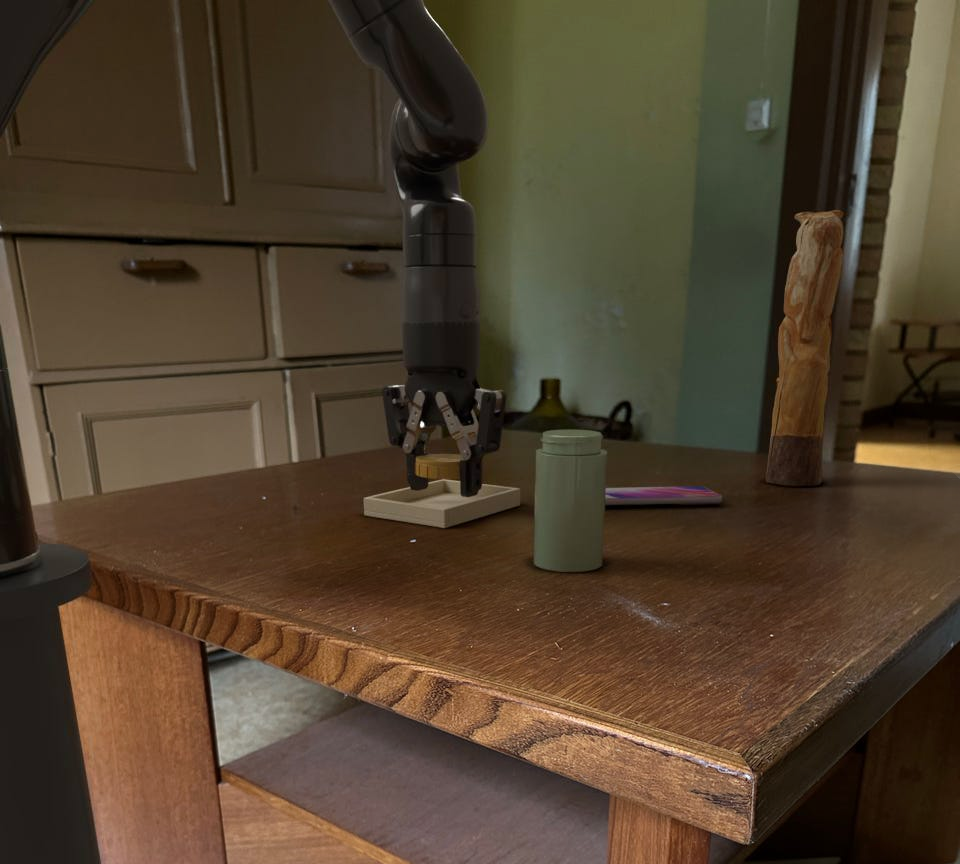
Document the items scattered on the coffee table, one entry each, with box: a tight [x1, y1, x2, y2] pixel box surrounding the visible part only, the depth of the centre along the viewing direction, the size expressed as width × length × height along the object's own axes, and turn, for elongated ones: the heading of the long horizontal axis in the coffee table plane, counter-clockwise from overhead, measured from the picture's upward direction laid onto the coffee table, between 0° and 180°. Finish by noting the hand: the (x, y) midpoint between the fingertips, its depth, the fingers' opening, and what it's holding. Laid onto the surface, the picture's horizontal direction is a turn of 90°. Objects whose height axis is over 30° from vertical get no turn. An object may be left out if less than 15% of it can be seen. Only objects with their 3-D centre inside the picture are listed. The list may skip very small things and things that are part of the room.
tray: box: [363, 479, 521, 529], centre depth 94 cm, size 13×10×2 cm
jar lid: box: [415, 453, 463, 480], centre depth 92 cm, size 6×6×2 cm
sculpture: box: [765, 209, 844, 488], centre depth 105 cm, size 7×9×30 cm
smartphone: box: [605, 485, 723, 506], centre depth 98 cm, size 7×1×15 cm
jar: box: [532, 429, 609, 573], centre depth 72 cm, size 6×6×10 cm
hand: (443, 491), depth 93 cm, fingers closed on jar lid, 6 cm apart
